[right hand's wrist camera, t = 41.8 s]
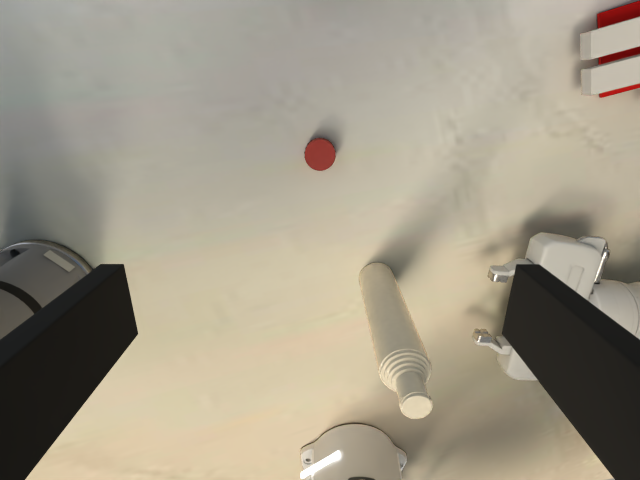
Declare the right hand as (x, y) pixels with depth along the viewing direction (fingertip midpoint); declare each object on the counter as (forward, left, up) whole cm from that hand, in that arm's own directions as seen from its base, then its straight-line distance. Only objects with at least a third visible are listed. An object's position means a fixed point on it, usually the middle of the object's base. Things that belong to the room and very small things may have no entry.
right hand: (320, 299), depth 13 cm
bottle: (-10, -17, -37) cm, 42 cm away
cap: (0, 0, -35) cm, 35 cm away
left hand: (-3, -28, -31) cm, 42 cm away
